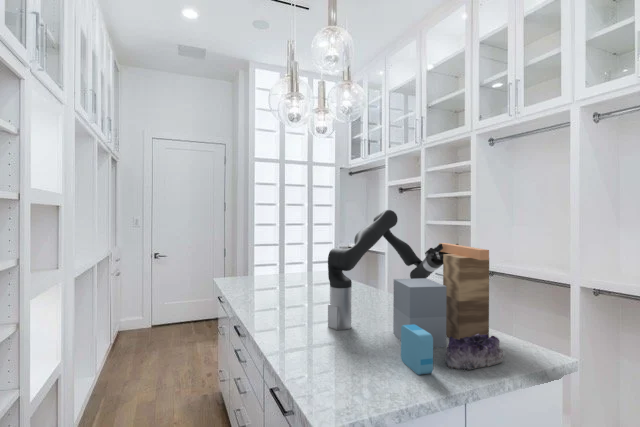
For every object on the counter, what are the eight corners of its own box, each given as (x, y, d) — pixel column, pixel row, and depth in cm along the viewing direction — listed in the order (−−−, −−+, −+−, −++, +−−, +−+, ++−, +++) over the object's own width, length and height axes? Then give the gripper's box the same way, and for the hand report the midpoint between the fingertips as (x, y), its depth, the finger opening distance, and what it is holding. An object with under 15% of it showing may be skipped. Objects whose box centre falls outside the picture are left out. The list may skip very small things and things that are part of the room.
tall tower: (488, 342, 132) (489, 257, 132) (459, 344, 130) (459, 258, 130) (470, 332, 143) (470, 253, 143) (442, 333, 142) (443, 254, 142)
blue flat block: (433, 375, 105) (433, 335, 105) (419, 376, 104) (419, 336, 104) (412, 359, 117) (413, 322, 117) (400, 360, 115) (400, 323, 115)
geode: (466, 378, 104) (461, 343, 105) (437, 368, 114) (433, 336, 115) (511, 362, 113) (507, 330, 114) (481, 354, 123) (477, 325, 124)
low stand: (446, 347, 127) (446, 286, 127) (409, 349, 125) (409, 287, 125) (426, 332, 143) (426, 278, 143) (393, 333, 141) (393, 279, 141)
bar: (489, 259, 125) (489, 249, 125) (480, 259, 124) (480, 250, 124) (446, 251, 155) (446, 243, 155) (438, 251, 154) (438, 243, 154)
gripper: (417, 253, 163) (432, 237, 149) (446, 253, 165) (463, 237, 151) (420, 268, 159) (436, 254, 145) (450, 268, 161) (468, 253, 147)
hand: (450, 245), depth 148 cm, fingers open, 7 cm apart
